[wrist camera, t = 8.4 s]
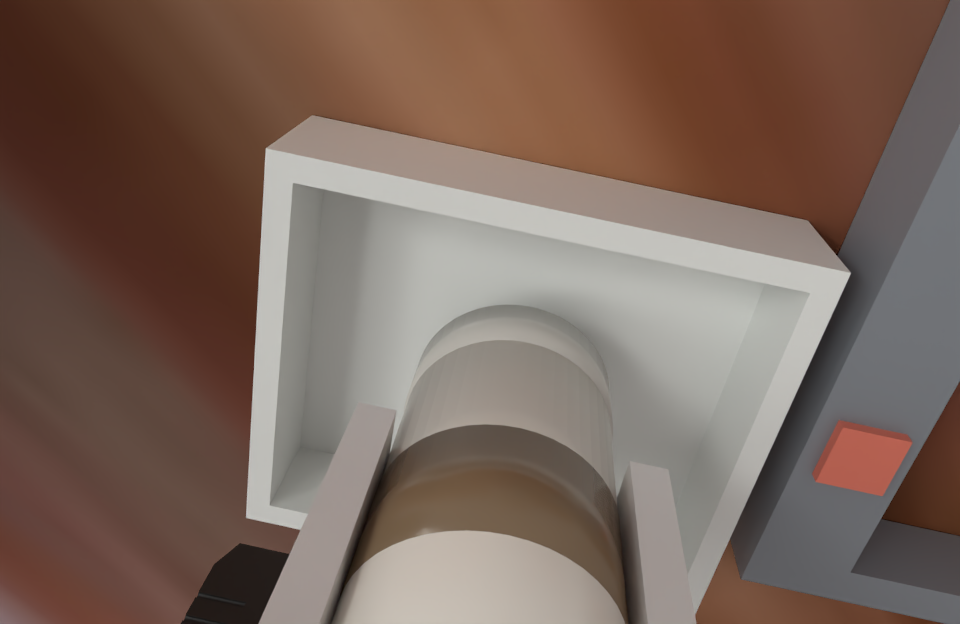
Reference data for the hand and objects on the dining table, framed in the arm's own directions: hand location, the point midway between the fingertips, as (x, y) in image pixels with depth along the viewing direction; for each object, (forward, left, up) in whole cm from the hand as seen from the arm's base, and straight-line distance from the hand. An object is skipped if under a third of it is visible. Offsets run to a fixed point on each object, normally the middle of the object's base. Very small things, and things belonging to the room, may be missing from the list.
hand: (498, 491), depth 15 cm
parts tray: (0, 0, -6) cm, 6 cm away
